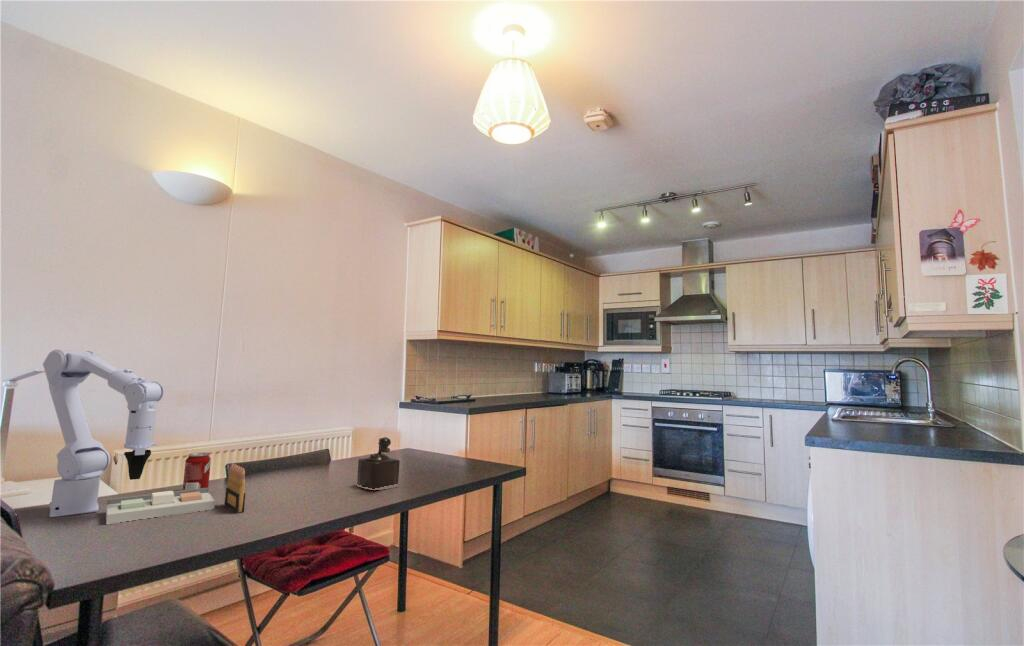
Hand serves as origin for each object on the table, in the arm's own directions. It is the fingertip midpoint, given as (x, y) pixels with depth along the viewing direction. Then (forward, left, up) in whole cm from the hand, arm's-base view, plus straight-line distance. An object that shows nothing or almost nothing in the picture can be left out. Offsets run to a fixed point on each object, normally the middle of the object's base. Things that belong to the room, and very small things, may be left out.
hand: (134, 478), depth 126 cm
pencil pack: (+23, -8, -10) cm, 26 cm away
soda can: (+17, +17, -10) cm, 26 cm away
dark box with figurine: (+67, -9, -10) cm, 68 cm away
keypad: (+7, 0, -9) cm, 11 cm away
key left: (0, 0, -9) cm, 9 cm away
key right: (+13, 0, -9) cm, 16 cm away
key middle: (+7, 0, -8) cm, 10 cm away
